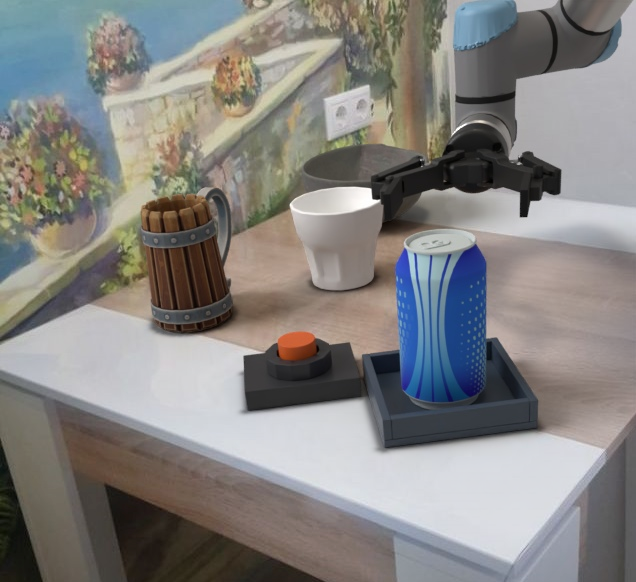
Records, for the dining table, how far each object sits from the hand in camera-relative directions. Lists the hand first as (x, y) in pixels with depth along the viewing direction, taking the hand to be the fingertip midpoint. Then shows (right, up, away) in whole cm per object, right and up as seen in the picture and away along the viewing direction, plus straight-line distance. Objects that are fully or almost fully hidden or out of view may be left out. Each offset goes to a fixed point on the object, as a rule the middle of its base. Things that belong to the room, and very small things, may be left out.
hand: (454, 205), depth 88 cm
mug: (-29, -6, +29) cm, 41 cm away
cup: (-10, -1, +33) cm, 35 cm away
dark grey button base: (-15, -17, +7) cm, 24 cm away
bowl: (-5, +12, +55) cm, 57 cm away
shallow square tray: (-1, -20, +1) cm, 20 cm away
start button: (-16, -14, +6) cm, 22 cm away
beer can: (-1, -19, +1) cm, 19 cm away
